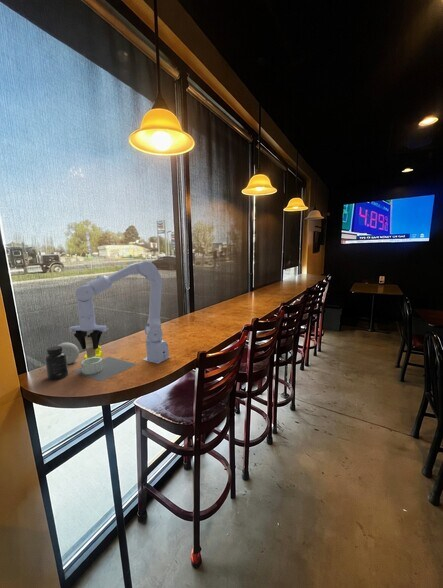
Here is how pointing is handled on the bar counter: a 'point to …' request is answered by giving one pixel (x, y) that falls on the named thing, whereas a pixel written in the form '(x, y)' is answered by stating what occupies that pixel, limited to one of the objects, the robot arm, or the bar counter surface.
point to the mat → (108, 368)
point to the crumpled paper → (97, 352)
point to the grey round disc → (71, 349)
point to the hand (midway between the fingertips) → (90, 348)
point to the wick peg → (89, 347)
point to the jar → (92, 365)
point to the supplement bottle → (56, 363)
